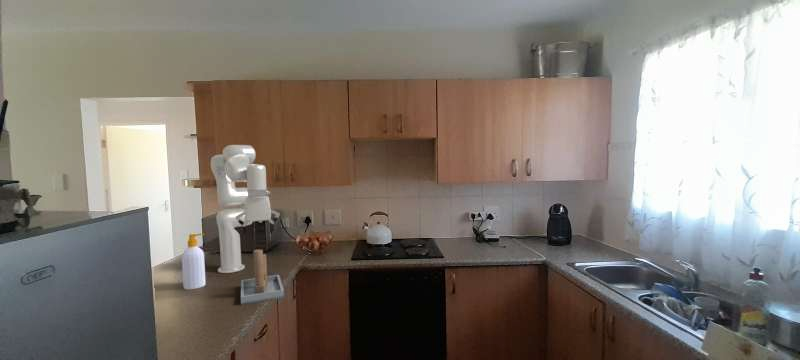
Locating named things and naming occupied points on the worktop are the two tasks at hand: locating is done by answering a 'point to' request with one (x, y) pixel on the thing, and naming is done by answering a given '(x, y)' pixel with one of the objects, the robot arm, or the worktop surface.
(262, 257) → the wooden mallet
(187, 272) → the soap bottle
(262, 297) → the tray
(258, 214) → the robot arm
